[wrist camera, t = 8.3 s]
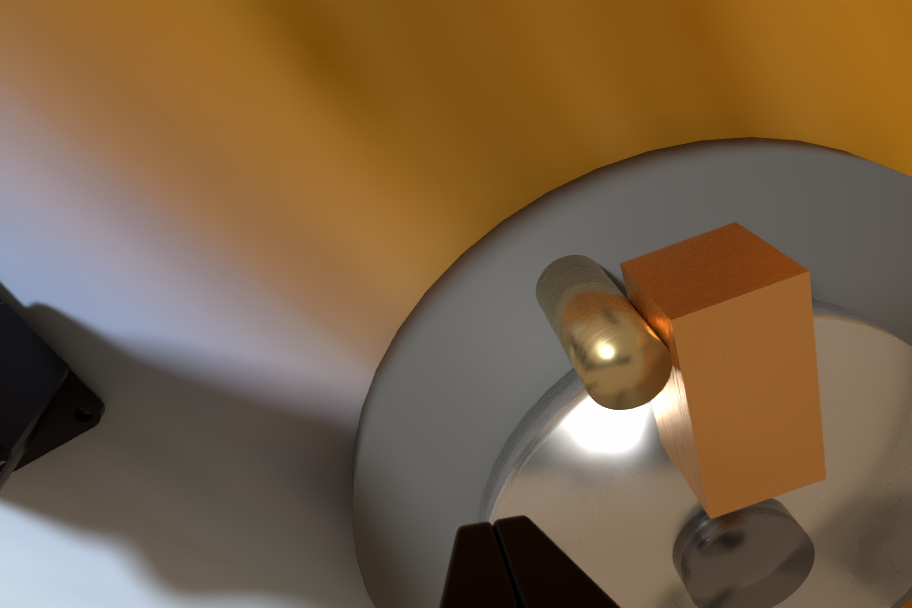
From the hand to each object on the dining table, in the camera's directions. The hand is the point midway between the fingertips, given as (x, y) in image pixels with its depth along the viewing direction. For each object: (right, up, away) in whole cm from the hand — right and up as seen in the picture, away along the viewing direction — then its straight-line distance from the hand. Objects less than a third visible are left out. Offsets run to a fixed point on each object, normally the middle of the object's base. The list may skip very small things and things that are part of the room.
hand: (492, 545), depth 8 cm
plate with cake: (+8, -3, +14) cm, 16 cm away
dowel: (+3, +3, +11) cm, 12 cm away
